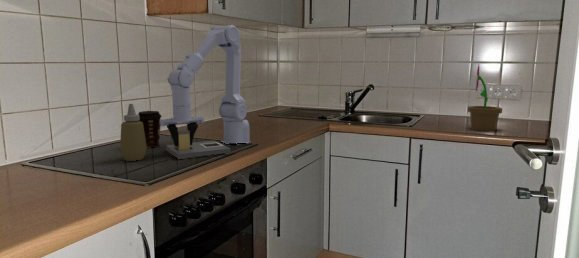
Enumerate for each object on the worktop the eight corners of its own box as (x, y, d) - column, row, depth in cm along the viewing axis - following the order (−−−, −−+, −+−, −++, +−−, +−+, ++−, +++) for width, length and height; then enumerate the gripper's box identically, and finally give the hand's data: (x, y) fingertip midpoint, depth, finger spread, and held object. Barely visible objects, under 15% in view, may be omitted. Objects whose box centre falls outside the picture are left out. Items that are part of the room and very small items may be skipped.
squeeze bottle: (150, 156, 139) (147, 102, 136) (143, 162, 131) (139, 105, 128) (126, 156, 139) (122, 102, 136) (116, 162, 131) (113, 105, 128)
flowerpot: (467, 126, 203) (471, 63, 198) (500, 128, 197) (505, 64, 192) (465, 130, 190) (470, 64, 186) (500, 133, 184) (506, 64, 179)
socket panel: (214, 145, 156) (214, 139, 156) (230, 154, 143) (230, 147, 142) (165, 150, 147) (165, 144, 147) (178, 160, 134) (177, 153, 133)
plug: (187, 152, 145) (186, 129, 144) (190, 154, 142) (189, 130, 141) (176, 153, 143) (175, 130, 142) (179, 155, 140) (178, 131, 139)
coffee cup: (154, 143, 160) (153, 109, 158) (167, 146, 155) (166, 111, 153) (134, 147, 154) (132, 111, 152) (146, 150, 149) (144, 113, 146)
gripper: (198, 103, 147) (200, 141, 149) (156, 105, 140) (158, 145, 142) (205, 105, 141) (206, 144, 143) (161, 107, 134) (163, 149, 136)
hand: (183, 145), depth 142 cm, fingers open, 4 cm apart
